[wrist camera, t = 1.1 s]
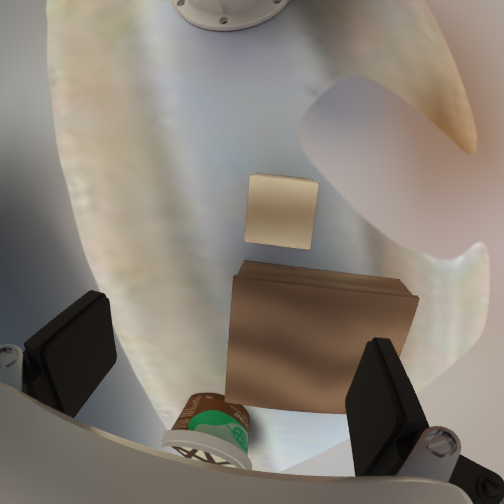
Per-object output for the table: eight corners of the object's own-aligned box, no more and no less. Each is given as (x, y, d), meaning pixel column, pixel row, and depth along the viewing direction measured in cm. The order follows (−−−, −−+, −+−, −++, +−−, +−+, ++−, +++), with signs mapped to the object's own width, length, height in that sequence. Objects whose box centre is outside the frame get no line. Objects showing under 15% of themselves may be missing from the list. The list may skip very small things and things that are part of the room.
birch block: (257, 172, 27) (249, 175, 21) (312, 179, 27) (318, 183, 21) (252, 225, 29) (243, 241, 23) (305, 232, 28) (309, 249, 22)
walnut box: (242, 258, 30) (233, 277, 25) (401, 277, 28) (419, 298, 23) (232, 373, 34) (224, 401, 29) (366, 385, 32) (373, 414, 28)
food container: (276, 428, 36) (271, 486, 26) (241, 440, 38) (230, 495, 28) (219, 371, 34) (198, 432, 24) (183, 388, 36) (158, 444, 26)
